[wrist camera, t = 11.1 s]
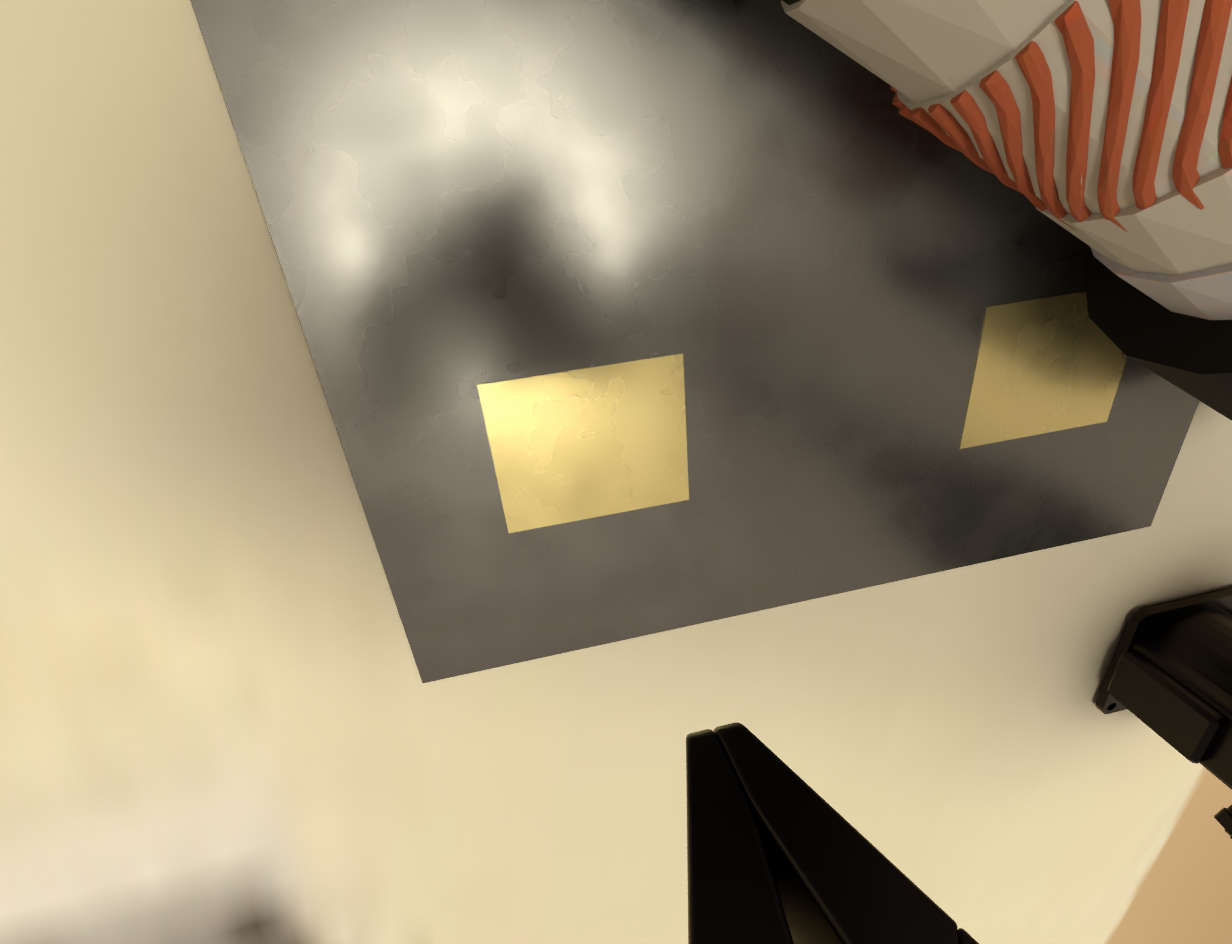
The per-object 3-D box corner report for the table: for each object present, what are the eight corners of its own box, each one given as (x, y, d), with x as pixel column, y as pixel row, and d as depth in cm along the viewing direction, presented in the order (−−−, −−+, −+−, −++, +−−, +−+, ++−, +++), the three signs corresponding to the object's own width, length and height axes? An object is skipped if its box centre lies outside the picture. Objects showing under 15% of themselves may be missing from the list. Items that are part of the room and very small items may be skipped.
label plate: (1532, -472, 13) (1542, -479, 13) (1148, 524, 25) (1151, 526, 25) (8, -541, 9) (1, -551, 9) (423, 680, 21) (422, 684, 21)
